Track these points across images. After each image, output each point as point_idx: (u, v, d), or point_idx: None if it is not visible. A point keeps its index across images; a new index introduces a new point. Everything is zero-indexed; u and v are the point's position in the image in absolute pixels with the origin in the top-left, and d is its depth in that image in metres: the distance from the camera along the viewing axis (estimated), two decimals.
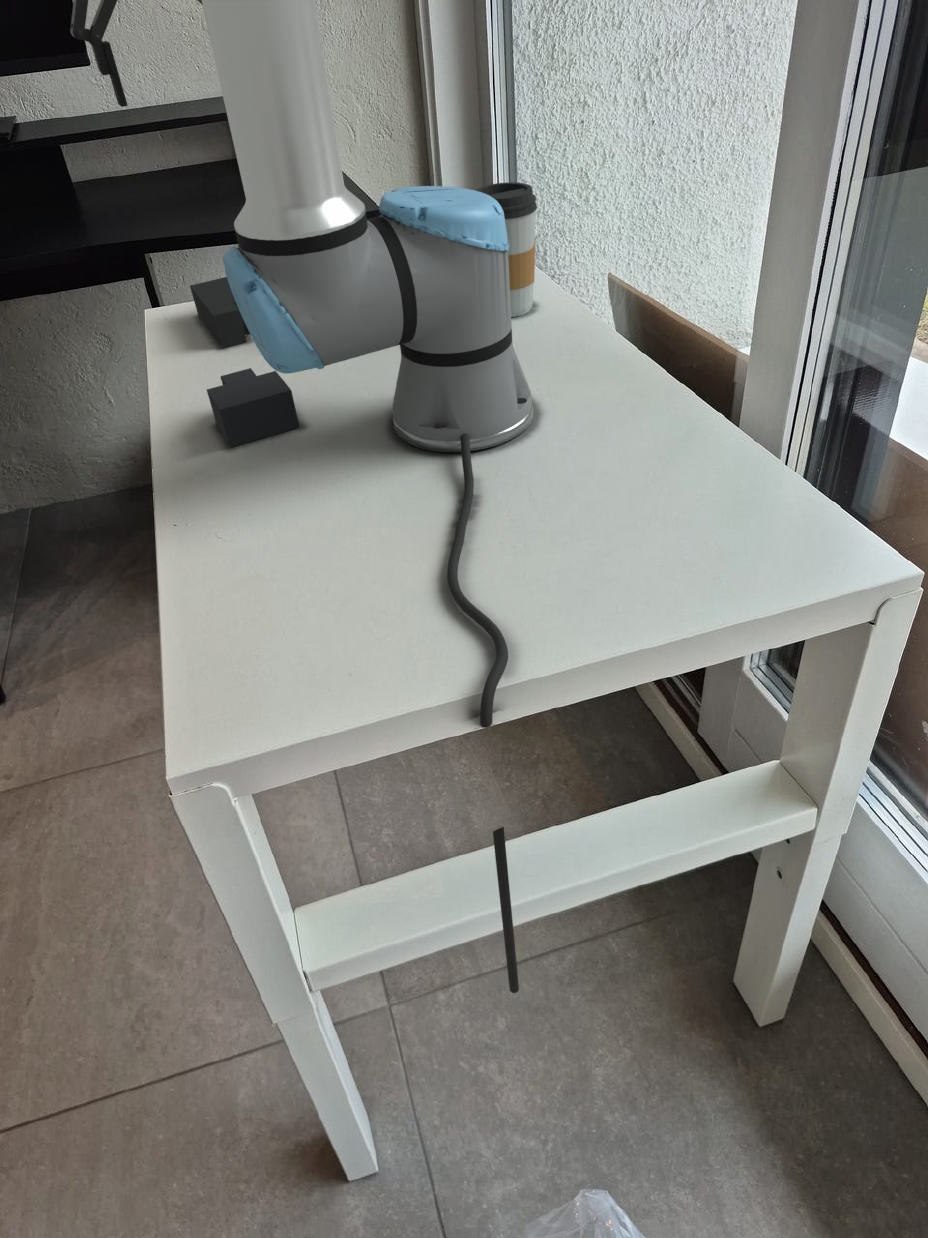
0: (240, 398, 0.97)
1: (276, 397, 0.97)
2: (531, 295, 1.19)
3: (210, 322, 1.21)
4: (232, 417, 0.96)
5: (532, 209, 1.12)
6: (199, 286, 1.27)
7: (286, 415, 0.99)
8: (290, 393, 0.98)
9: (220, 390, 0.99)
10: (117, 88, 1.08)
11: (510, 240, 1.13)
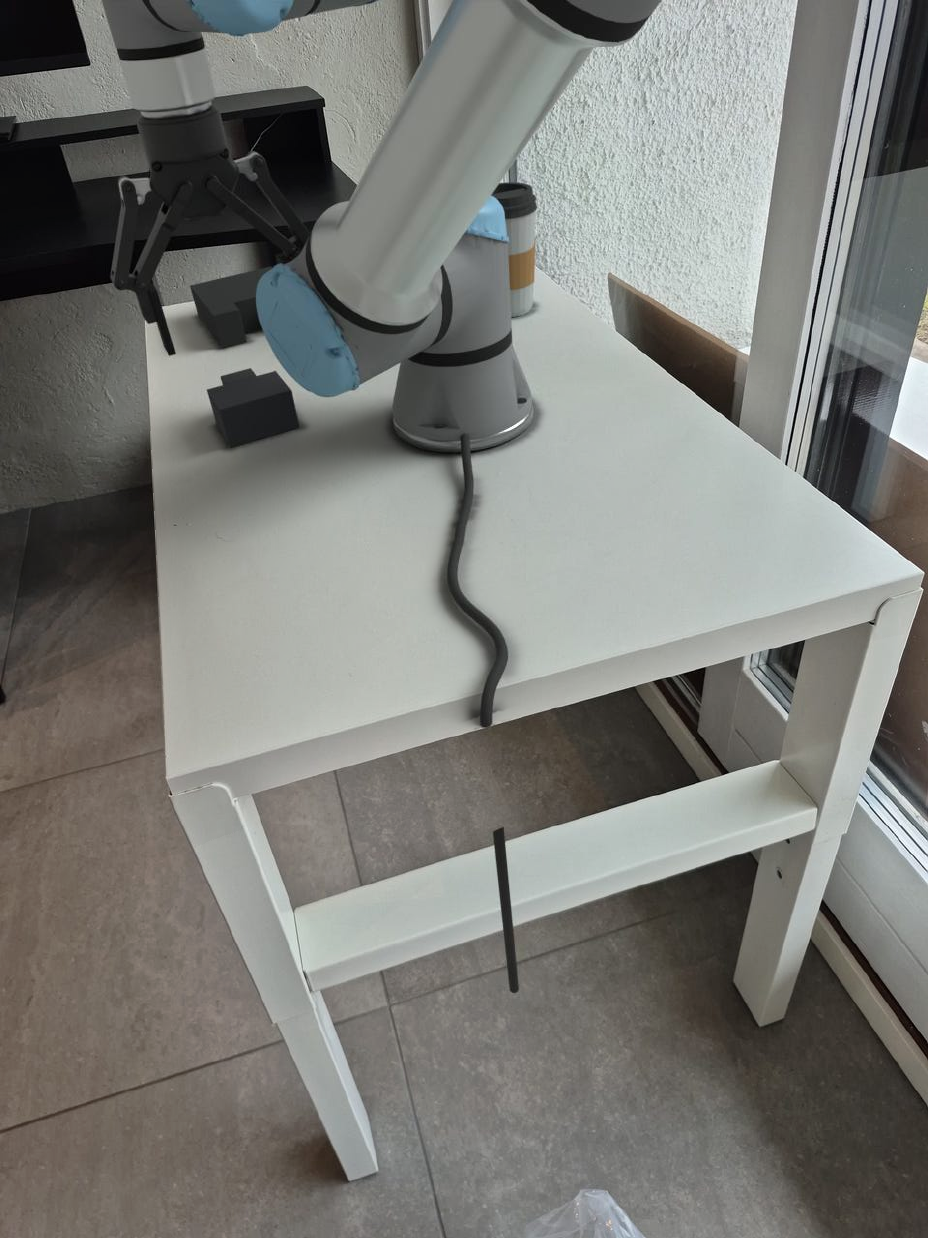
0: (240, 398, 0.97)
1: (276, 397, 0.97)
2: (531, 295, 1.19)
3: (210, 322, 1.21)
4: (232, 417, 0.96)
5: (532, 209, 1.12)
6: (199, 286, 1.27)
7: (286, 415, 0.99)
8: (290, 393, 0.98)
9: (220, 390, 0.99)
10: (164, 337, 0.91)
11: (510, 240, 1.13)
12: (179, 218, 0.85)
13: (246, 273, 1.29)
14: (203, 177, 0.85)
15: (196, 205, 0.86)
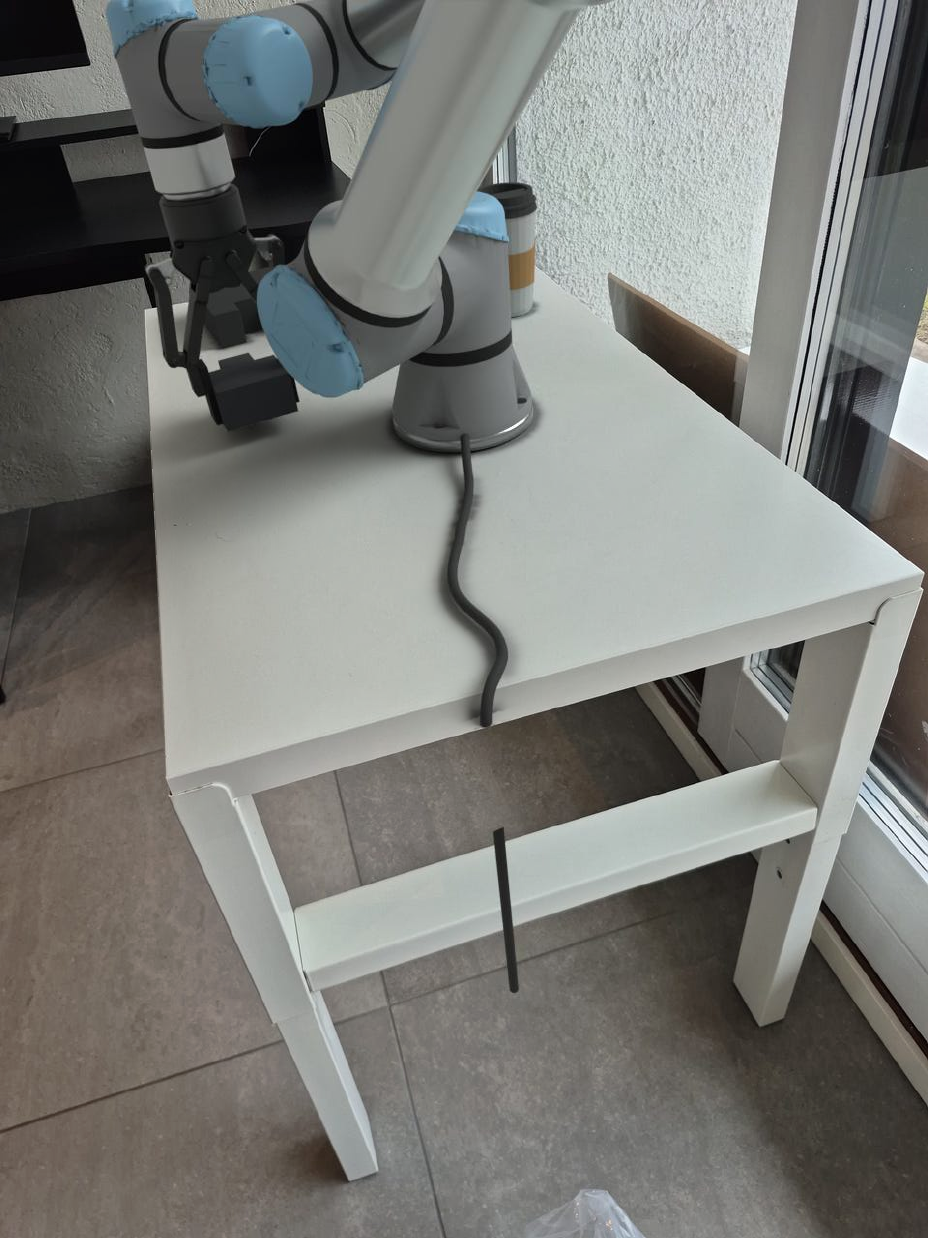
0: (238, 381, 0.96)
1: (274, 380, 0.96)
2: (531, 295, 1.19)
3: (210, 322, 1.21)
4: (229, 401, 0.95)
5: (532, 209, 1.12)
6: None
7: (284, 399, 0.97)
8: (288, 376, 0.96)
9: (217, 374, 0.98)
10: (213, 409, 0.96)
11: (510, 240, 1.13)
12: (208, 292, 0.89)
13: None
14: (223, 251, 0.89)
15: (216, 278, 0.90)
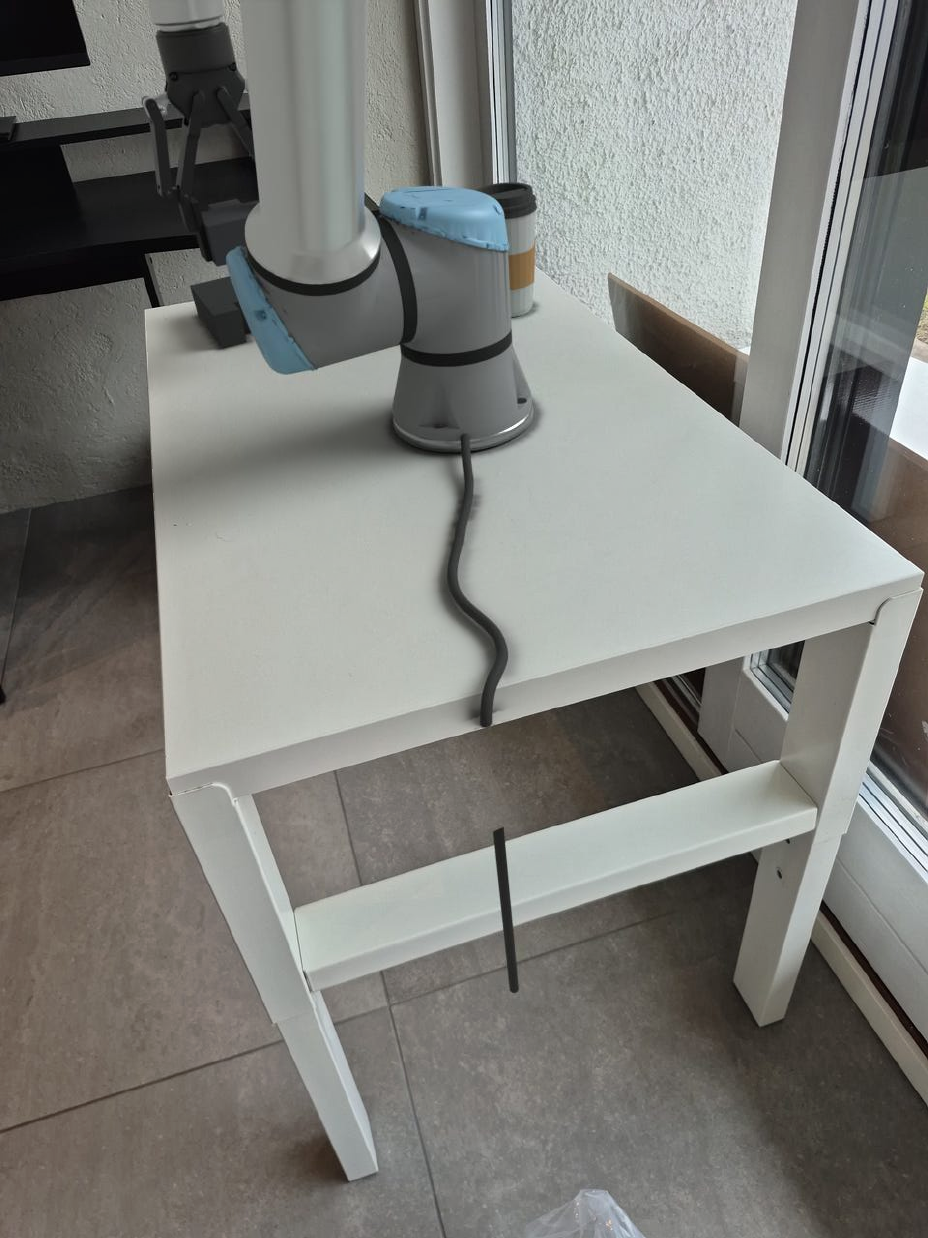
0: (227, 218, 1.03)
1: None
2: (531, 295, 1.19)
3: (210, 322, 1.21)
4: (219, 235, 1.03)
5: (532, 209, 1.12)
6: (199, 286, 1.27)
7: None
8: None
9: (207, 213, 1.05)
10: (204, 245, 1.04)
11: (510, 240, 1.13)
12: (200, 126, 0.97)
13: None
14: (214, 87, 0.96)
15: (207, 113, 0.97)
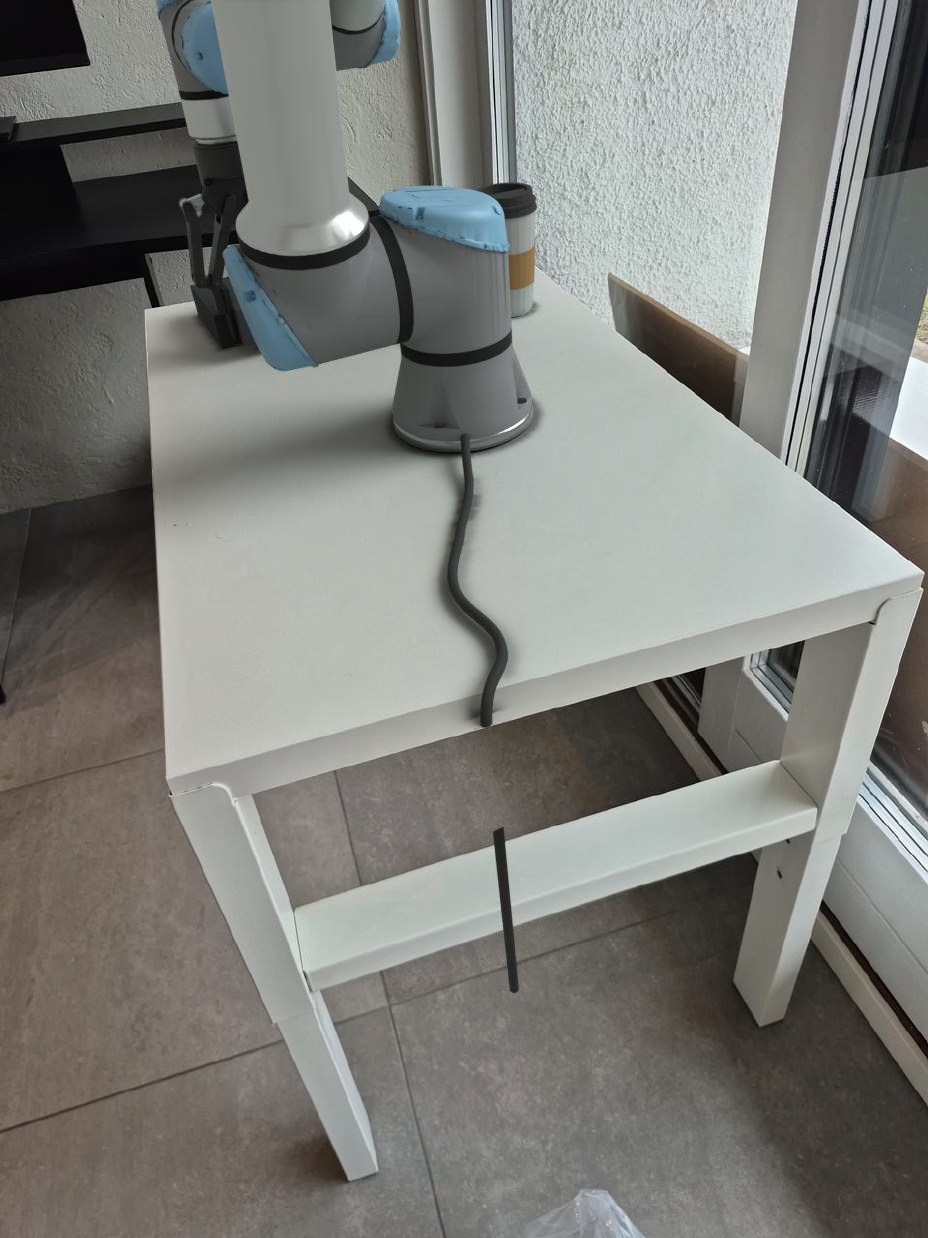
0: None
1: None
2: (531, 295, 1.19)
3: (210, 322, 1.21)
4: None
5: (532, 209, 1.12)
6: None
7: None
8: None
9: None
10: (232, 325, 1.14)
11: (510, 240, 1.13)
12: (231, 223, 1.07)
13: None
14: (244, 189, 1.06)
15: (237, 212, 1.07)
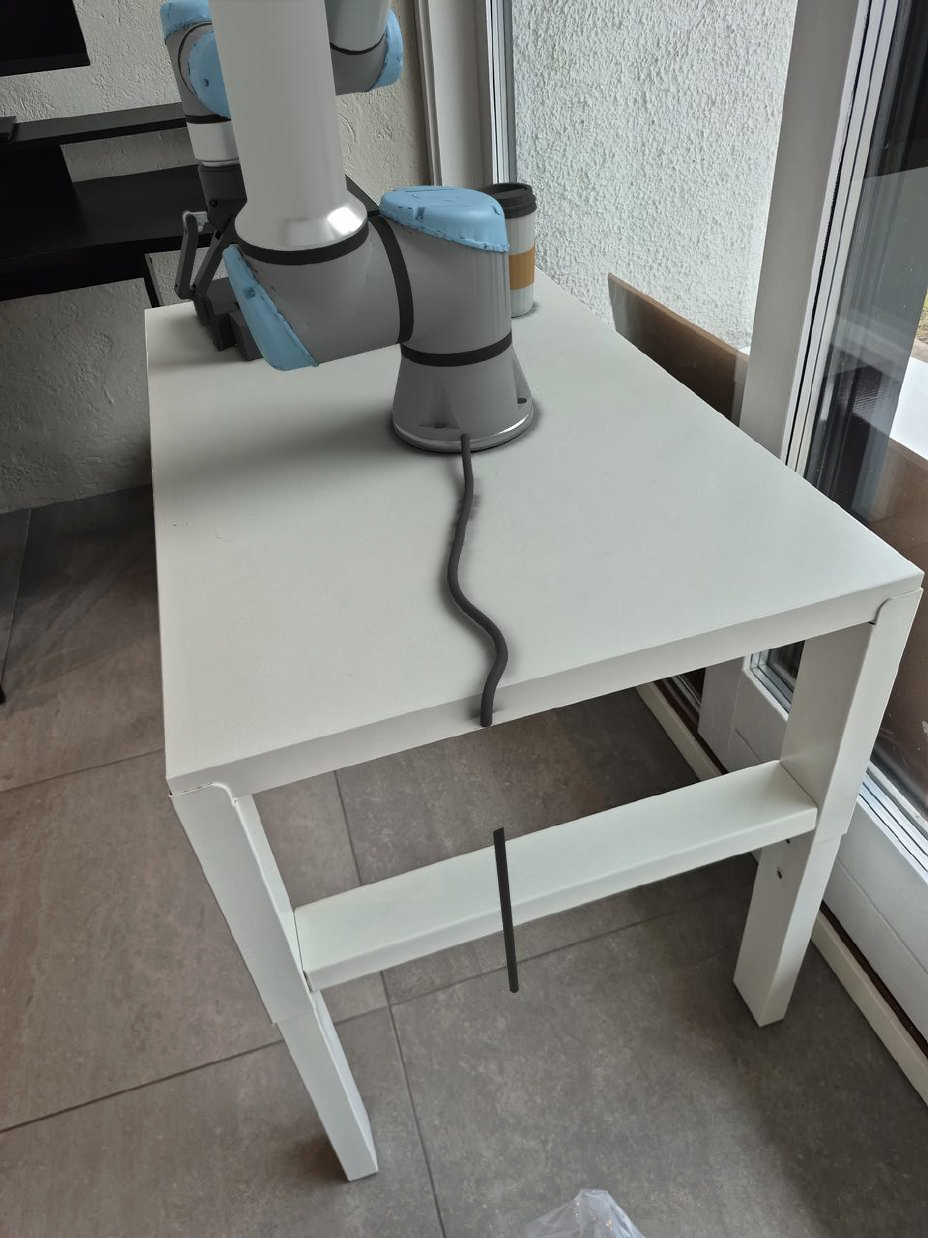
0: None
1: None
2: (531, 295, 1.19)
3: None
4: (250, 334, 1.14)
5: (532, 209, 1.12)
6: None
7: None
8: None
9: (240, 313, 1.17)
10: (215, 337, 1.14)
11: (510, 240, 1.13)
12: (229, 243, 1.08)
13: None
14: None
15: None
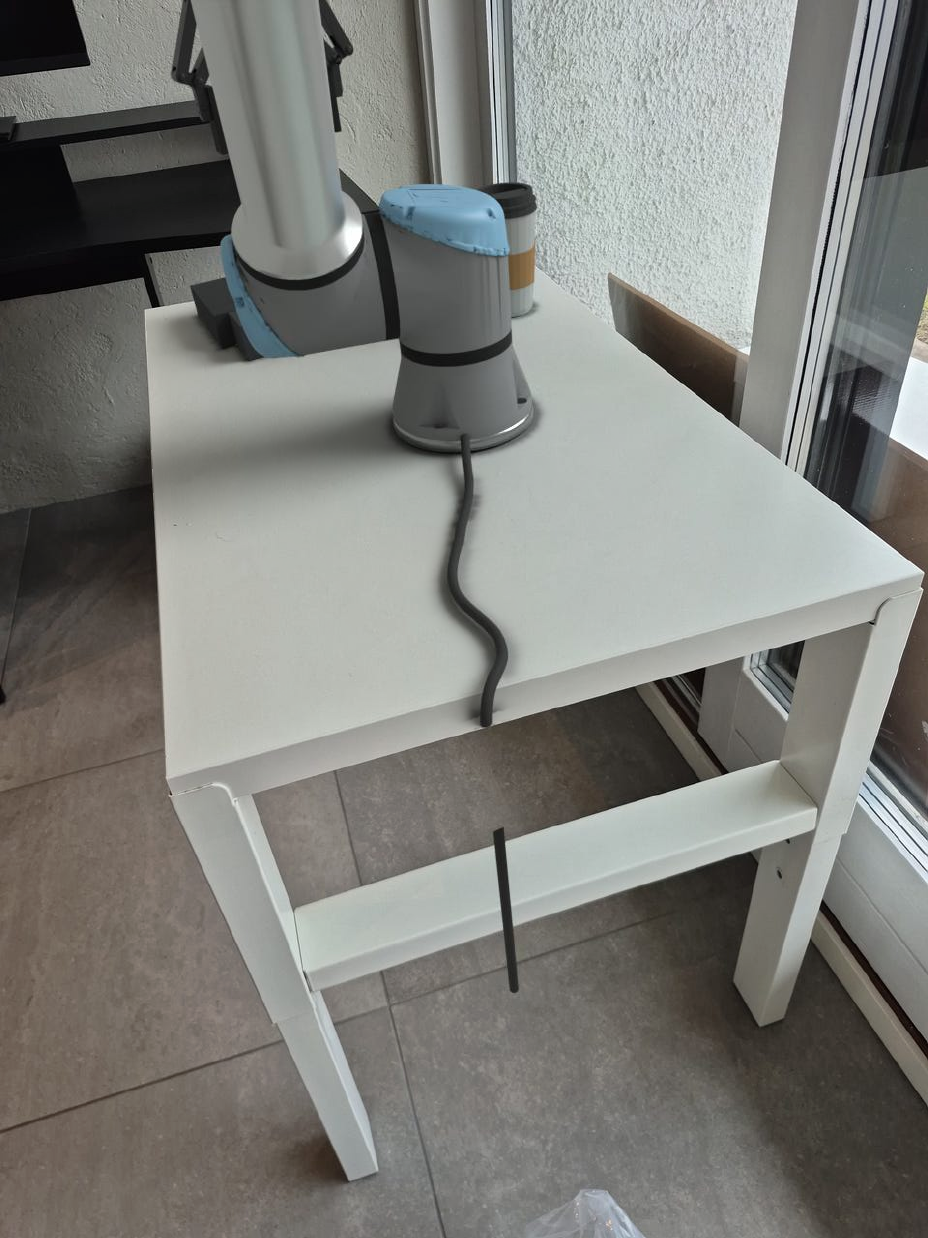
0: None
1: None
2: (531, 295, 1.19)
3: (210, 322, 1.21)
4: None
5: (532, 209, 1.12)
6: (199, 286, 1.27)
7: None
8: None
9: None
10: (219, 135, 0.99)
11: (510, 240, 1.13)
12: None
13: None
14: None
15: None
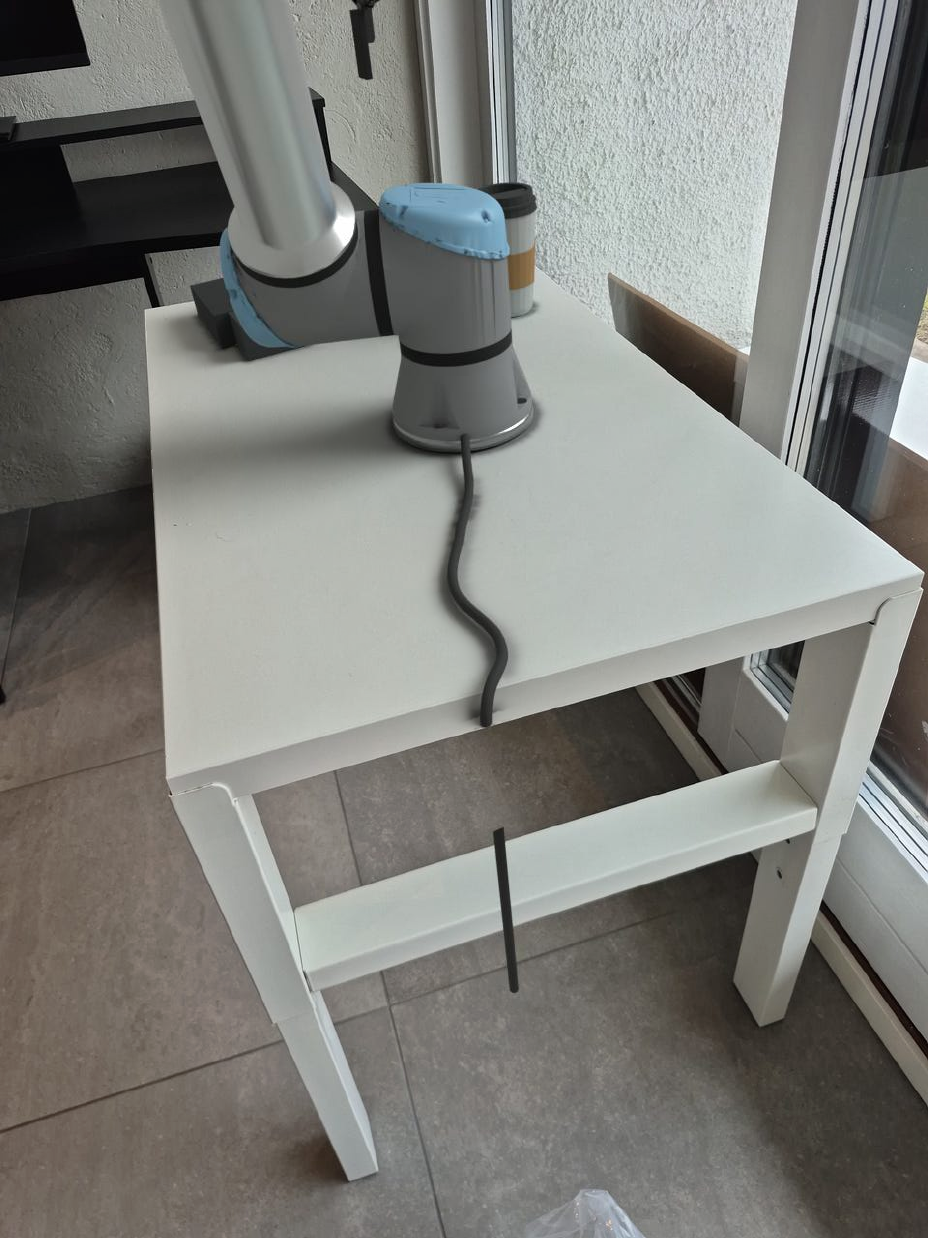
0: None
1: None
2: (531, 295, 1.19)
3: (210, 322, 1.21)
4: None
5: (532, 209, 1.12)
6: (199, 286, 1.27)
7: None
8: None
9: None
10: None
11: (510, 240, 1.13)
12: None
13: None
14: None
15: None
